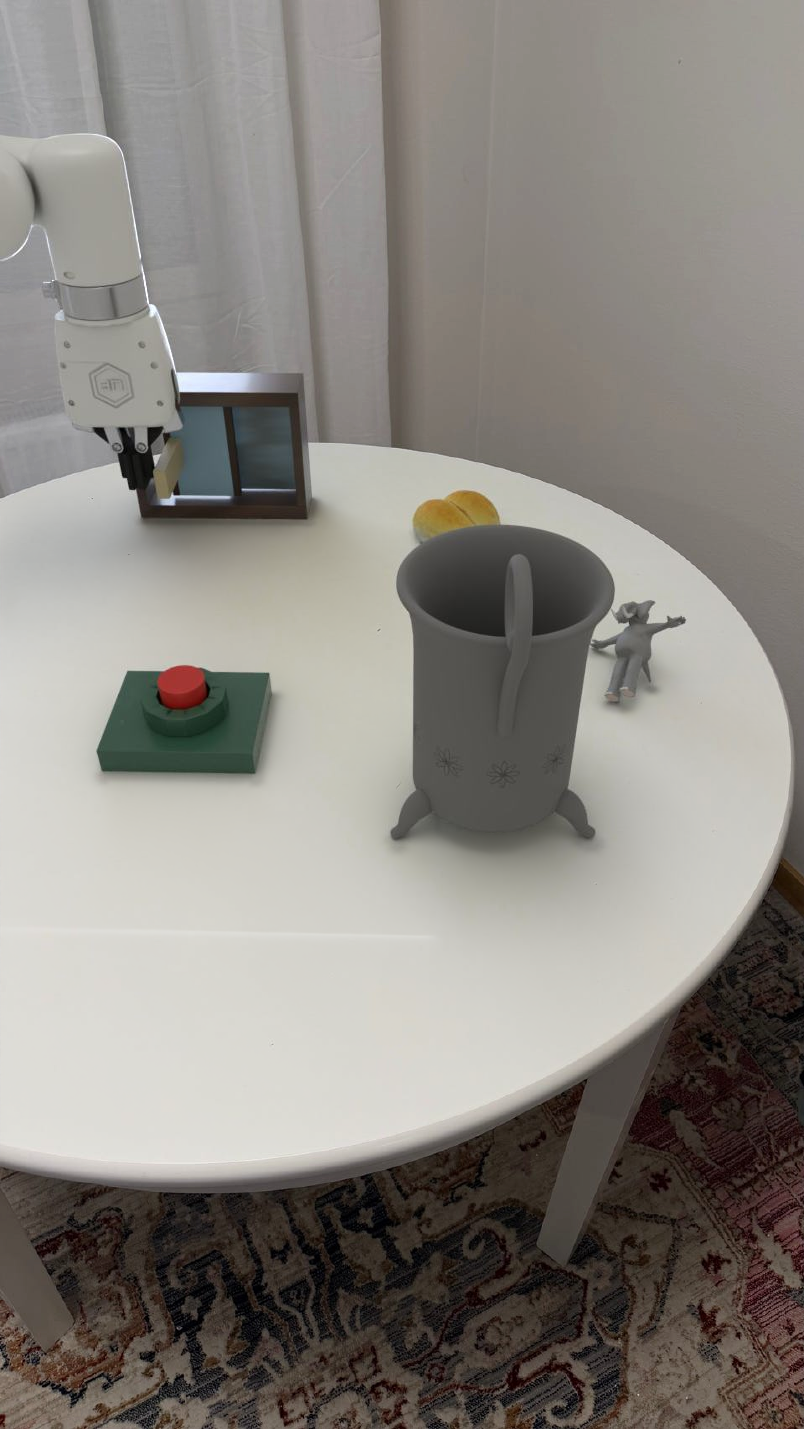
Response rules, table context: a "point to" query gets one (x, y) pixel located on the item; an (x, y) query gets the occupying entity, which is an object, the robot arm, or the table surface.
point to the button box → (187, 726)
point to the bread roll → (453, 514)
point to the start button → (182, 687)
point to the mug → (499, 673)
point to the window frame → (249, 448)
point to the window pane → (200, 456)
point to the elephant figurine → (632, 646)
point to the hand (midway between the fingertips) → (140, 483)
